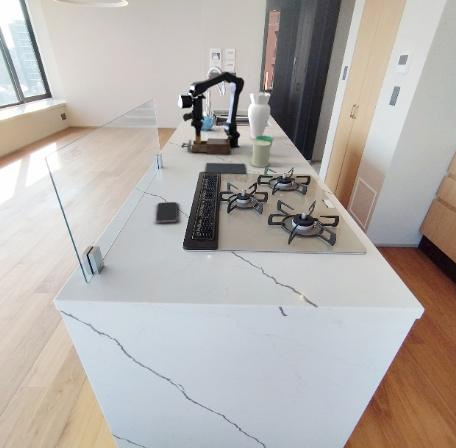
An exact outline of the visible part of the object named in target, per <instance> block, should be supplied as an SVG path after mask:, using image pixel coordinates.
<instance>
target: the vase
mask: <svg viewBox="0 0 456 448" xmlns="http://www.w3.org/2000/svg"><path fill="white" fill-rule="evenodd" d="M249 97H250V100H251V103H250V105H249V106H248V111H247V115H248V116H247V117H248V122H249V128H250V132H251V133H250V134H251V135H250V139H251V140H253V141H256V137H258V136H263V135H264V132H265V130H266V127H267V124H268V121H269V120H270V115H271V107H270V105H269V100H270V97H271V93H269V92H266V93H264V92H261V91H260V92H256V91H254V92H251V93H250V94H249Z"/></svg>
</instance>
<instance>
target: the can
mask: <svg viewBox="0 0 456 448" xmlns="http://www.w3.org/2000/svg"><path fill="white" fill-rule="evenodd" d="M270 145H271V143H270V142H267V141H256V140H253V142H252V155H251V163H250V164H251V165H252V166H253V167H257V168H266V167H268V166H269V165H270V163H269V161H270V152H271V148H270ZM271 146H272V145H271Z"/></svg>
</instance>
